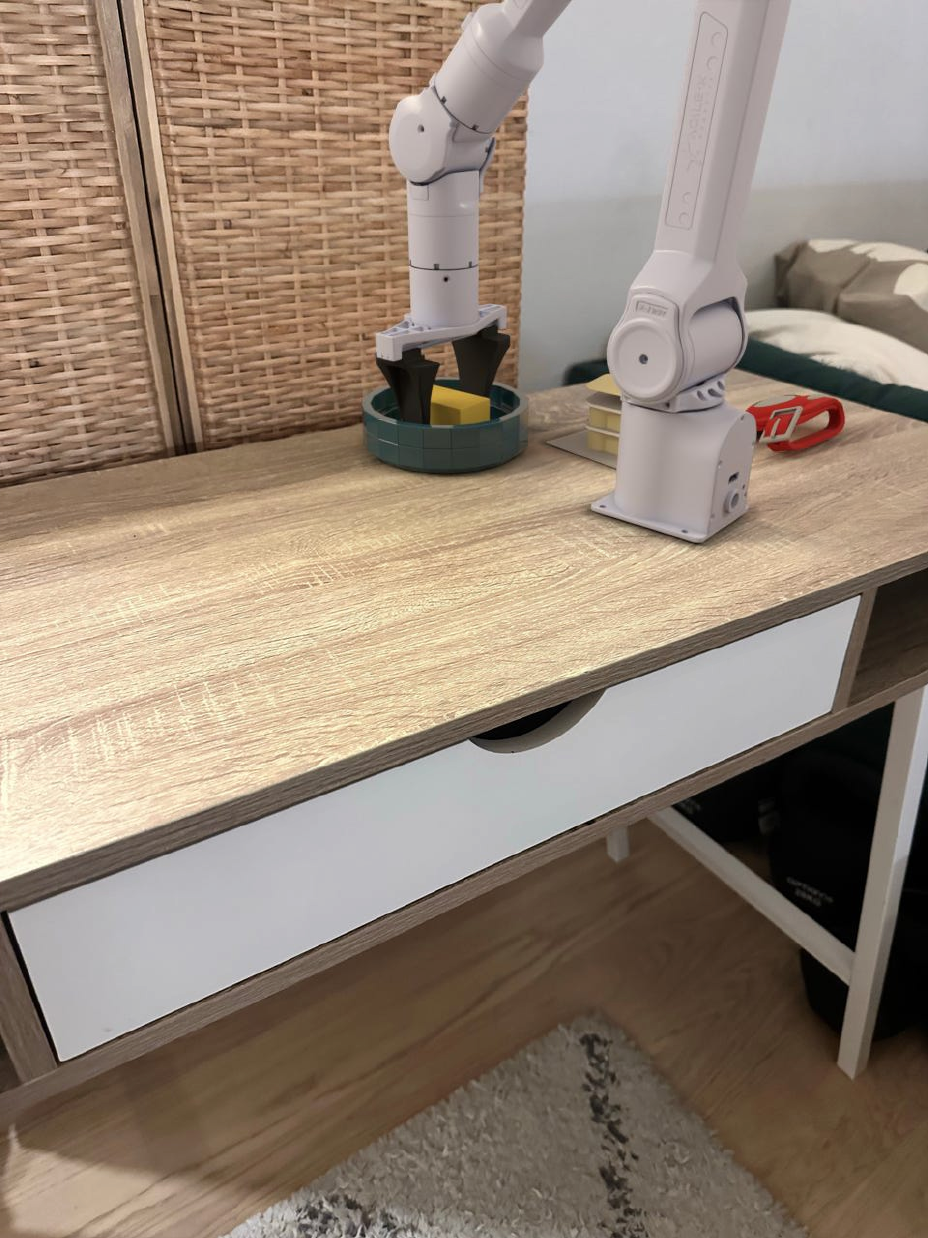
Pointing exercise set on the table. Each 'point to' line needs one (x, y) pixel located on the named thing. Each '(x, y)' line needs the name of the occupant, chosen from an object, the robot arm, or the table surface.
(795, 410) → the red buckle strap
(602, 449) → the stacked layers on plate
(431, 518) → the table surface
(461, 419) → the sponge
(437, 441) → the bowl
